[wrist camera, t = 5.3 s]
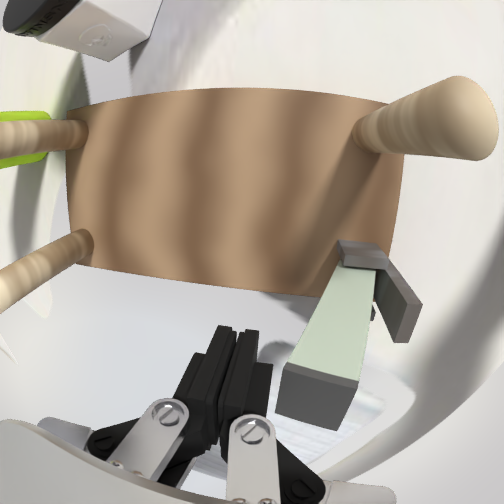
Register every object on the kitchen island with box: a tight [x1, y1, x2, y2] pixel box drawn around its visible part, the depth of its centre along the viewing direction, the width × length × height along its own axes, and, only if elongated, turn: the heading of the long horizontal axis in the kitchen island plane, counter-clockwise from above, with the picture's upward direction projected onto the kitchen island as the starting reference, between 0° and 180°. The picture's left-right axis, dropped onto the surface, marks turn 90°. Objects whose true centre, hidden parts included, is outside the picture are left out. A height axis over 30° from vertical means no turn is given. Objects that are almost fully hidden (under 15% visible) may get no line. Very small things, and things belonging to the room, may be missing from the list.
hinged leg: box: [275, 258, 376, 431], centre depth 14 cm, size 12×3×3 cm
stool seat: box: [0, 76, 499, 343], centre depth 15 cm, size 28×15×14 cm, turn 87°
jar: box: [3, 0, 162, 62], centre depth 11 cm, size 9×8×12 cm
